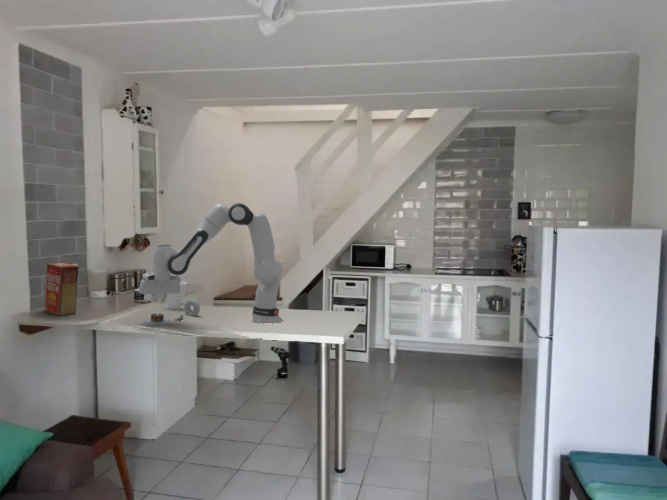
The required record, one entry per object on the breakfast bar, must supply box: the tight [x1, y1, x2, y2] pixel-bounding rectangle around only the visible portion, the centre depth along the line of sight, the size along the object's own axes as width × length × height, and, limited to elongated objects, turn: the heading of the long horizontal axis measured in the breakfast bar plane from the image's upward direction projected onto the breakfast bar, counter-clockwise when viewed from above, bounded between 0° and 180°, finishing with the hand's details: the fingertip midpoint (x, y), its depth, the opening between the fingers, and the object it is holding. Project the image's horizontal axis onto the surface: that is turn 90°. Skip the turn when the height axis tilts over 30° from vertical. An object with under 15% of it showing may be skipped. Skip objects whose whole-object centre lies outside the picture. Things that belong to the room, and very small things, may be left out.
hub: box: [143, 312, 171, 325], centre depth 255 cm, size 10×10×5 cm
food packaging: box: [43, 261, 80, 317], centre depth 252 cm, size 13×9×25 cm
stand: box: [173, 313, 184, 322], centre depth 263 cm, size 6×6×4 cm
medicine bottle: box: [133, 281, 152, 301], centre depth 296 cm, size 7×7×12 cm
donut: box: [183, 298, 201, 317], centre depth 275 cm, size 10×4×10 cm, turn 68°
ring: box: [150, 312, 165, 322], centre depth 255 cm, size 6×6×3 cm
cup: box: [166, 280, 188, 311], centre depth 287 cm, size 12×12×16 cm
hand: (158, 302), depth 254 cm, fingers open, 3 cm apart
